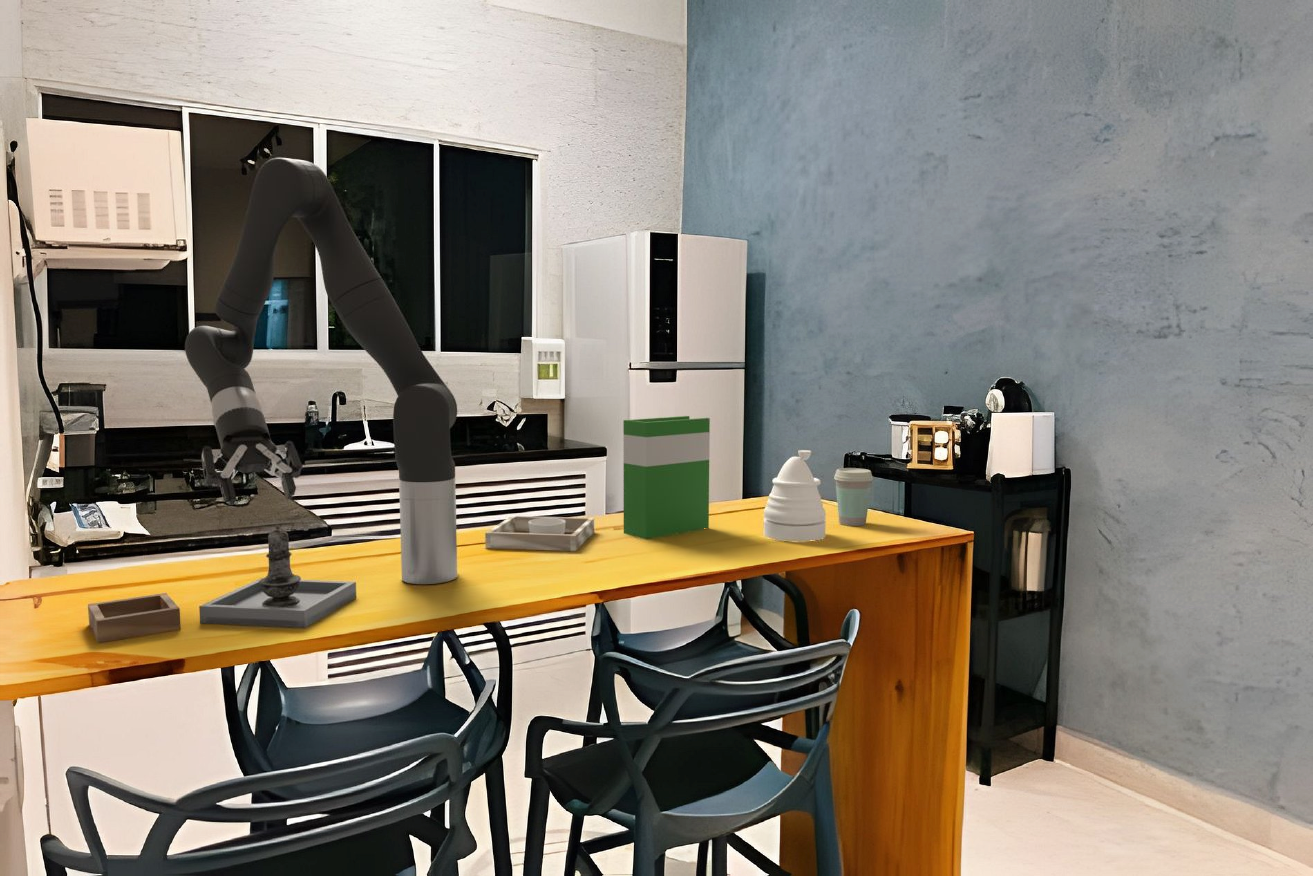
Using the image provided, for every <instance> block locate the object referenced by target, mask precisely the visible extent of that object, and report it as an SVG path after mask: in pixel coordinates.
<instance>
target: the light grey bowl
mask: <svg viewBox="0 0 1313 876" xmlns="http://www.w3.org/2000/svg"><path fill="white" fill-rule="evenodd" d="M565 523H566V521H565V520H563V519H558V518H540V519H533V520H530V521H529V522H528V524H529V531H528V532H529V533H538V534H565V532H564V531H565Z"/></svg>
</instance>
